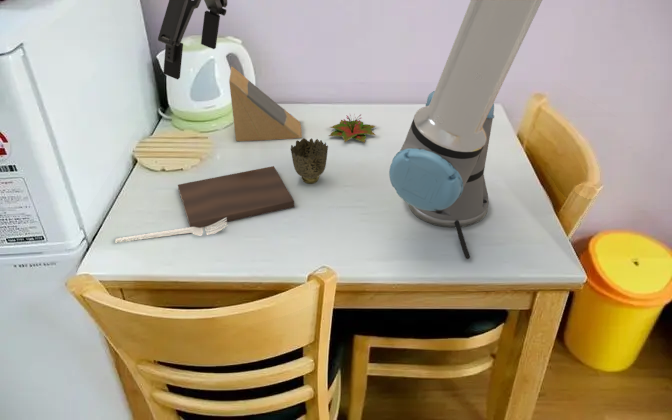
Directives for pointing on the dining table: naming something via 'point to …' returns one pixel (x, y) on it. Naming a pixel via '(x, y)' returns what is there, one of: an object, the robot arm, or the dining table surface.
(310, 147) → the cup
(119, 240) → the fork
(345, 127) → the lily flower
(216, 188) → the walnut board
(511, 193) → the dining table surface
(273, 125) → the sandwich container
